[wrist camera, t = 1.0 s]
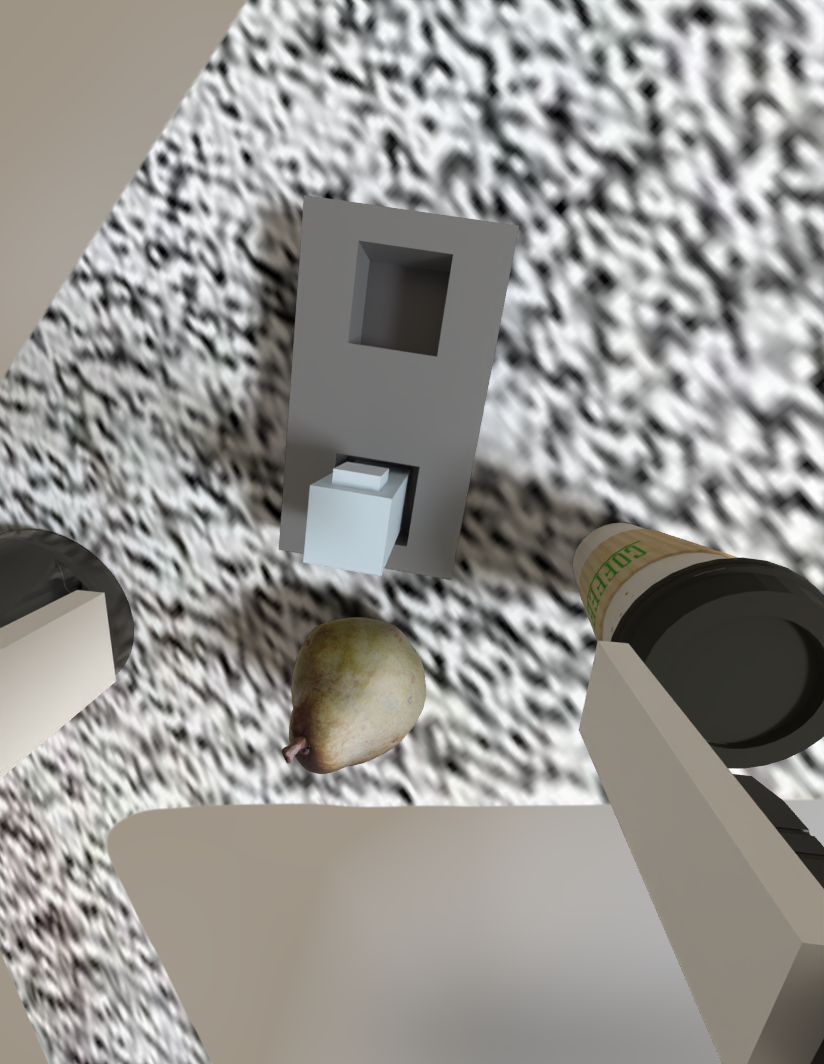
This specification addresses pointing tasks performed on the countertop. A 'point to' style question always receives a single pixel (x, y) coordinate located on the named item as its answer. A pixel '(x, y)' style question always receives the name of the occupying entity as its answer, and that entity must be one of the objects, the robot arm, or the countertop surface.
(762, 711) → the coffee cup
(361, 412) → the socket panel
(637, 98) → the countertop surface
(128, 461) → the countertop surface
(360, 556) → the plug
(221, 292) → the countertop surface
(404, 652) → the fruit
